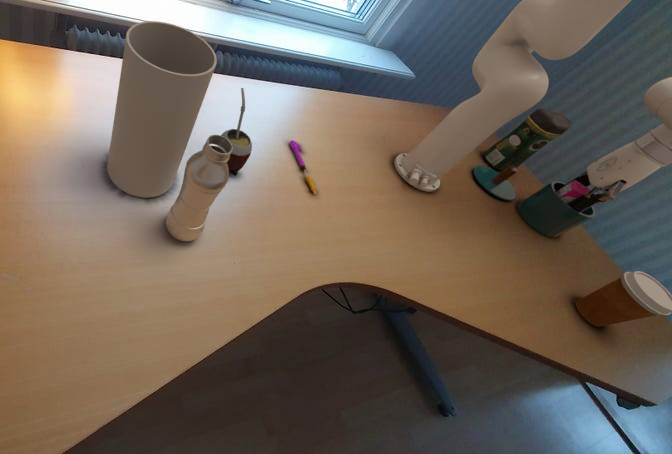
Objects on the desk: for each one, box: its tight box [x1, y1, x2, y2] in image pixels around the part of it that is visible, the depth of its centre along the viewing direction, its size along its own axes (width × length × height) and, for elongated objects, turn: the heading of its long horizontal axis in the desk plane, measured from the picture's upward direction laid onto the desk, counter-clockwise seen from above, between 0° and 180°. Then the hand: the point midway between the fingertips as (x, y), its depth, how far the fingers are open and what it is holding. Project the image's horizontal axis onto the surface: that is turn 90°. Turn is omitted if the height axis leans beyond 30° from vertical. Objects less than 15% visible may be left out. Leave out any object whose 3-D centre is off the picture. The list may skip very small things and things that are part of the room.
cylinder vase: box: [106, 20, 218, 199], centre depth 59 cm, size 12×12×25 cm
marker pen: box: [289, 140, 317, 195], centre depth 84 cm, size 3×1×16 cm
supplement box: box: [556, 180, 597, 212], centre depth 96 cm, size 6×6×12 cm
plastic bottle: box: [165, 134, 233, 242], centre depth 56 cm, size 6×7×20 cm
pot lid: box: [472, 165, 519, 202], centre depth 102 cm, size 13×13×7 cm
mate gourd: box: [220, 87, 253, 177], centre depth 71 cm, size 8×8×15 cm
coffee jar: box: [483, 107, 572, 172], centre depth 106 cm, size 10×8×19 cm
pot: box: [517, 180, 597, 238], centre depth 97 cm, size 12×12×9 cm
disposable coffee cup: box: [575, 270, 672, 328], centre depth 78 cm, size 10×10×12 cm
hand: (570, 198), depth 94 cm, fingers open, 8 cm apart
